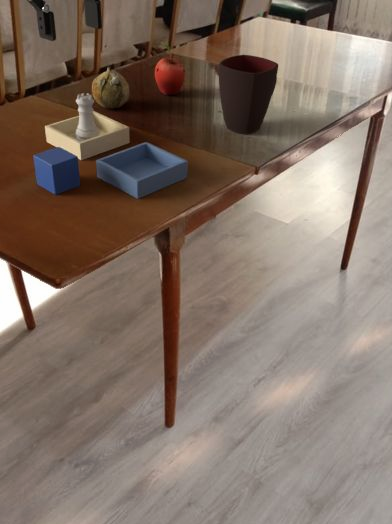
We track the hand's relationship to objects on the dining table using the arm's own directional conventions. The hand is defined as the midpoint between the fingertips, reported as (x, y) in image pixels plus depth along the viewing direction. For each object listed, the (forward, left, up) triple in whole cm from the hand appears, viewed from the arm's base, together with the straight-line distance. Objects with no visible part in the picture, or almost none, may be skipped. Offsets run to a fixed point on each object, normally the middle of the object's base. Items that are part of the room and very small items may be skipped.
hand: (71, 33), depth 99 cm
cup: (+32, -12, -20) cm, 40 cm away
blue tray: (+1, -15, -20) cm, 24 cm away
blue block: (-11, -8, -20) cm, 24 cm away
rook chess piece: (+3, +2, -19) cm, 20 cm away
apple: (+32, +11, -20) cm, 40 cm away
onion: (+18, +13, -20) cm, 30 cm away
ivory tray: (+3, +2, -20) cm, 20 cm away
